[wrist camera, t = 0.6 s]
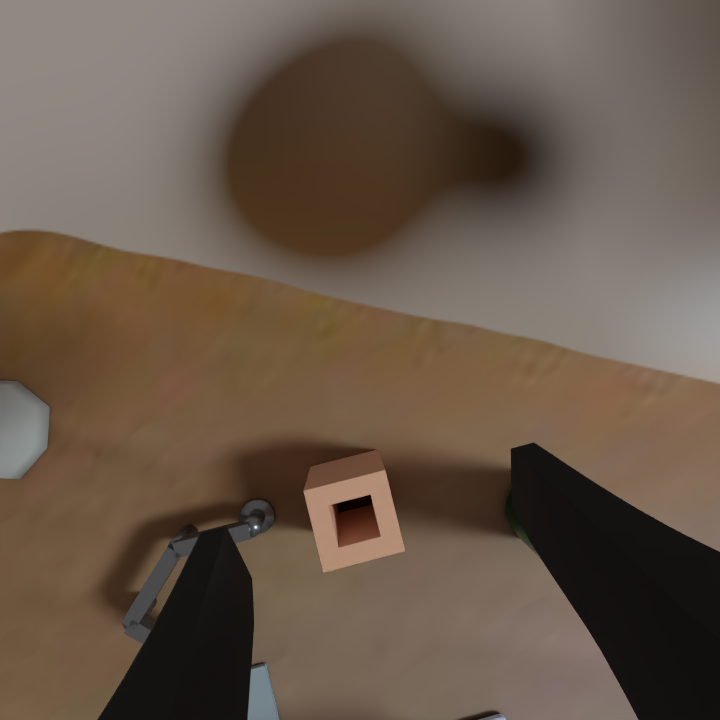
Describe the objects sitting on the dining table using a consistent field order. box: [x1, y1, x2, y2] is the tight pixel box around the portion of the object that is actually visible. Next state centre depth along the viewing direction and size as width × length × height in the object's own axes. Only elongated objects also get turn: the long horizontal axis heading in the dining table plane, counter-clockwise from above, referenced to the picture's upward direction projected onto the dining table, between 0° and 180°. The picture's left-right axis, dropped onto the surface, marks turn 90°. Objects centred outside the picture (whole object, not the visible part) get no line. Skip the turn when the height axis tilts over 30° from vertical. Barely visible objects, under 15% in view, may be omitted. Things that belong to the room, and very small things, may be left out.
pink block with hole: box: [304, 450, 405, 572], centre depth 29 cm, size 5×5×6 cm
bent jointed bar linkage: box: [121, 499, 275, 644], centre depth 30 cm, size 10×11×3 cm
